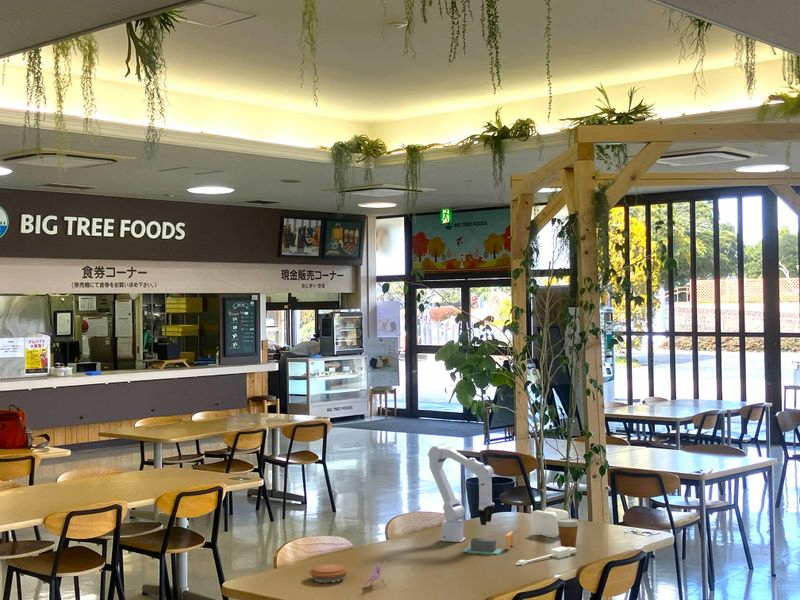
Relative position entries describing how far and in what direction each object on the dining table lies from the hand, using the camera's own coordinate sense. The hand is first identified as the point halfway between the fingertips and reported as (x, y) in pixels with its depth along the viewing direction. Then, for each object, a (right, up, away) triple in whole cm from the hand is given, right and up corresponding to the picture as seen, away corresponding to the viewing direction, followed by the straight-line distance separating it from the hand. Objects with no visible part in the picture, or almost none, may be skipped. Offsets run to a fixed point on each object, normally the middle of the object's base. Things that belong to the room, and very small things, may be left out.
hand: (485, 523), depth 431 cm
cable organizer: (+32, -10, +16) cm, 37 cm away
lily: (-48, -9, -67) cm, 83 cm away
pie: (-67, -9, -56) cm, 87 cm away
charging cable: (+23, -9, -29) cm, 38 cm away
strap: (+10, -9, -8) cm, 16 cm away
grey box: (-2, -8, -15) cm, 17 cm away
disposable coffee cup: (+36, -9, -9) cm, 38 cm away
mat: (-3, -9, -14) cm, 17 cm away
